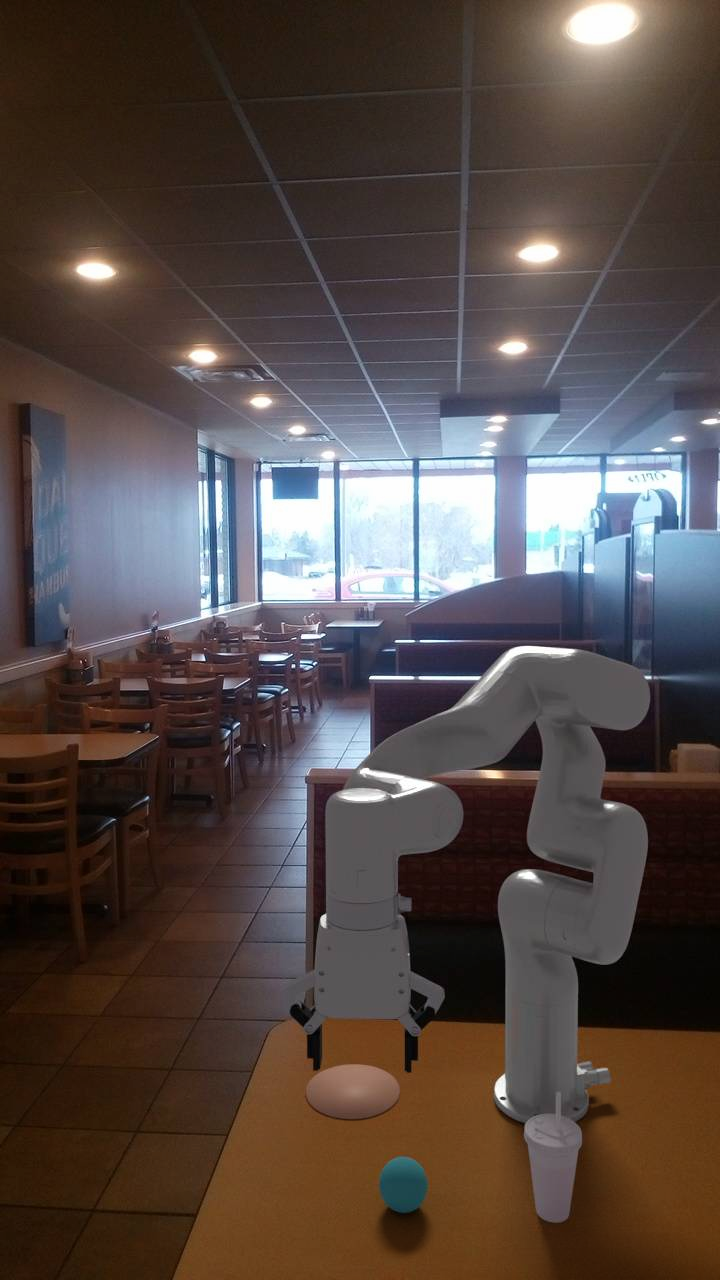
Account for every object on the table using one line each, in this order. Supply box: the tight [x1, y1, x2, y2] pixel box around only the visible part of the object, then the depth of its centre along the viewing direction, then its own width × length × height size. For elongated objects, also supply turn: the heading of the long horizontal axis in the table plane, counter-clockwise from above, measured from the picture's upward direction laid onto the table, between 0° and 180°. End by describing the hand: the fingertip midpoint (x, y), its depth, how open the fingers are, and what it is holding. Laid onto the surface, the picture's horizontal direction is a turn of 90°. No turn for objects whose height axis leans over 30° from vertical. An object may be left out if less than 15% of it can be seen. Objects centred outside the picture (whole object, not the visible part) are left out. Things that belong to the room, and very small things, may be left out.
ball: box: [378, 1156, 429, 1214], centre depth 106 cm, size 6×6×6 cm
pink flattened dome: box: [305, 1063, 401, 1120], centre depth 130 cm, size 13×13×1 cm
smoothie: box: [523, 1092, 583, 1224], centre depth 105 cm, size 6×6×14 cm
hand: (362, 1065), depth 99 cm, fingers open, 9 cm apart
